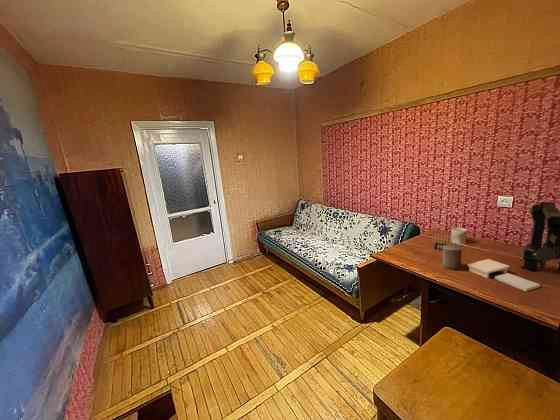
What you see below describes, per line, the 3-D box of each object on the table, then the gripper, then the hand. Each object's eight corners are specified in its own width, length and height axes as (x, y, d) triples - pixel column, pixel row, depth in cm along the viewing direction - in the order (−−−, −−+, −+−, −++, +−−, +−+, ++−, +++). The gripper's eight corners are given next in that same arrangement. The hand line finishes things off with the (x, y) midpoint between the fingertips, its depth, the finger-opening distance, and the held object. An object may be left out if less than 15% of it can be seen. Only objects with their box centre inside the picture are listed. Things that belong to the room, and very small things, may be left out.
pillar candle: (464, 269, 143) (466, 246, 141) (451, 271, 142) (452, 248, 139) (451, 263, 153) (452, 241, 150) (438, 265, 151) (439, 243, 149)
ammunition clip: (451, 250, 172) (452, 235, 169) (451, 251, 170) (452, 235, 168) (434, 248, 178) (434, 233, 175) (434, 249, 176) (434, 234, 174)
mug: (447, 240, 190) (447, 228, 188) (460, 239, 191) (461, 226, 189) (458, 245, 179) (458, 231, 177) (471, 243, 181) (472, 229, 178)
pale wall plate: (507, 276, 132) (507, 272, 132) (539, 287, 119) (539, 284, 119) (494, 279, 130) (494, 276, 130) (525, 292, 117) (526, 288, 116)
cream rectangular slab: (487, 265, 145) (488, 258, 144) (508, 272, 134) (509, 265, 134) (467, 270, 141) (467, 264, 140) (487, 278, 131) (487, 271, 130)
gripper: (518, 238, 114) (514, 267, 117) (573, 251, 96) (567, 285, 99) (533, 235, 117) (530, 263, 120) (590, 247, 99) (584, 279, 102)
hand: (550, 272), depth 110 cm, fingers open, 5 cm apart
